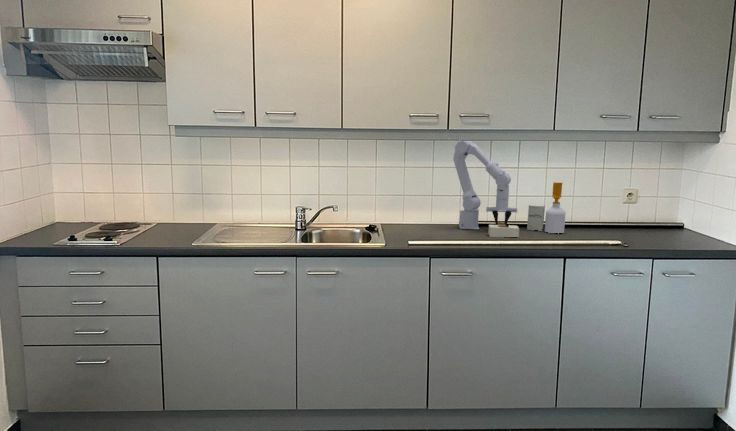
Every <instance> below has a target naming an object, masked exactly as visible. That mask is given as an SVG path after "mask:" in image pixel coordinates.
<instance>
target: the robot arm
mask: <svg viewBox="0 0 736 431" xmlns="http://www.w3.org/2000/svg"><path fill="white" fill-rule="evenodd" d="M469 155H473V156H474V157H475V158H477V159H478V160H479V161H480V162H481V163H482V164H483V165H484V166H485V171H486V172H487V173H488V174H489V176H491V177H492V179H493V180H494V181H495V184H496V196H495V198H496V199H495V200H496V201H495V206H486V208H485V211H486V212H487V213H488V212H492V215H493V219H494V221H495V225H498V222H499V221H498V220H499V212H501V213H504V221H503V222H504V223H505V225H506V226H507V225H508V222H509V220H510V217H511V215H512V213H517V214H518V208H517V207H509V195H510V183H511V180H512V177H511V175H510V174H509V173H507V172H506V171H505V170H503V169H502V168H501V167H500V166H499V165H500V164H499V163H498V162H495V161H491V160H490V159H489V158H488V157H487V156H486V154H485V152H483V151H482V150H481V148H480V147H479V146H478V144H476V143H475V142H474V141H473V140H472V141H460V140H459V141H457V143H456V144H455V145H454V154H453V162H454V166H455V170H456V173H457V174H456V175H457V177H458V180H459V184H460V186H461V190H462V207H463V210H460V211H459V218H458V220H459V222H458V225H459V226H458V227H459V229H460V230H478V231H479V230H480V227H479V212H480V209H479V208H480V206H481V198H479V197H478V194H477V192H476V191H475V190H474V187H473V183H472V180H471V177H470V174H469V173H470V172H469V170H468V166H467V163H466V158H467V157H468V156H469Z"/></svg>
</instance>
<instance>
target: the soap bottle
mask: <svg viewBox="0 0 736 431" xmlns="http://www.w3.org/2000/svg"><path fill="white" fill-rule="evenodd" d="M562 190H563V182H557V181H556V182H554V181H553V184H552V198H553V199H554V201H552V206H551V207H549V208H548V209H547V210H545V217H544V222H545V223H544V232H545V233H546V232H548V233H547V234H550V233H558V234H557V235H560V234H559V233H563V234H564V233H565V224H566V223H565V222H566V211H565V210H564V209H563V208H561V202H560V201H559V200H560V199H561V198H562Z"/></svg>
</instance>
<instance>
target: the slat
mask: <svg viewBox="0 0 736 431" xmlns="http://www.w3.org/2000/svg"><path fill="white" fill-rule="evenodd" d="M504 222H505V221H498V227H506V228H507V225H505V223H504Z"/></svg>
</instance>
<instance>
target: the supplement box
mask: <svg viewBox="0 0 736 431" xmlns="http://www.w3.org/2000/svg"><path fill="white" fill-rule="evenodd" d="M545 208H546V204H542V203H541V204H540V203H529V205H528V212H527V224H526V225H527V226H526V231H534V230H538V231H537V232H542V231H543V230H542V229H544V224H545V223H544V222H545V212H546V209H545Z"/></svg>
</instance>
